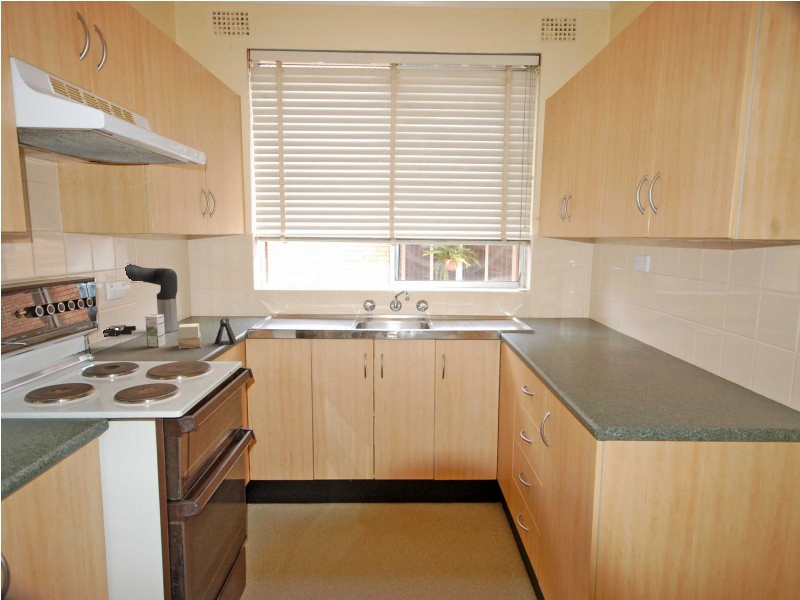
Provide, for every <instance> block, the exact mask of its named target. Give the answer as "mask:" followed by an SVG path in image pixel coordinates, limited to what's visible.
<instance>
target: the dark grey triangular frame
mask: <svg viewBox="0 0 800 600" xmlns="http://www.w3.org/2000/svg"><path fill="white" fill-rule="evenodd" d="M219 324H220V325H219V328H218V331H217V335H216V338H215V340H214V345H215V344H220V345H235V343H236V342H237V338H236V336H235V334H234V332H233V329H232V327H231V324H230V319H229V317H228V316H226V317H225V316H224V317H223V318H221V319H220V321H219ZM224 329H225V331H226V334H227V336H228V340H222V337H223V333H224Z"/></svg>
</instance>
